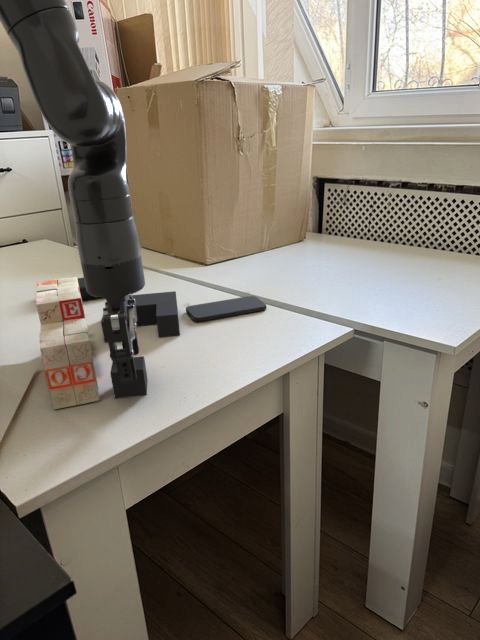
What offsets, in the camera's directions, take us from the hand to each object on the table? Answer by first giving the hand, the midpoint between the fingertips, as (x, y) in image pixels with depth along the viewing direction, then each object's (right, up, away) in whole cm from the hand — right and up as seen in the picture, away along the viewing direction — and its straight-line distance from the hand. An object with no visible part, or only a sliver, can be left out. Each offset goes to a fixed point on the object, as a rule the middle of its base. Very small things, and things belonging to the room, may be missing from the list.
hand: (130, 367), depth 71 cm
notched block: (-4, +7, +23) cm, 25 cm away
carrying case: (-20, +15, +42) cm, 49 cm away
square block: (0, -3, +1) cm, 4 cm away
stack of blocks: (-10, -1, +7) cm, 12 cm away
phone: (+12, +10, +29) cm, 33 cm away
